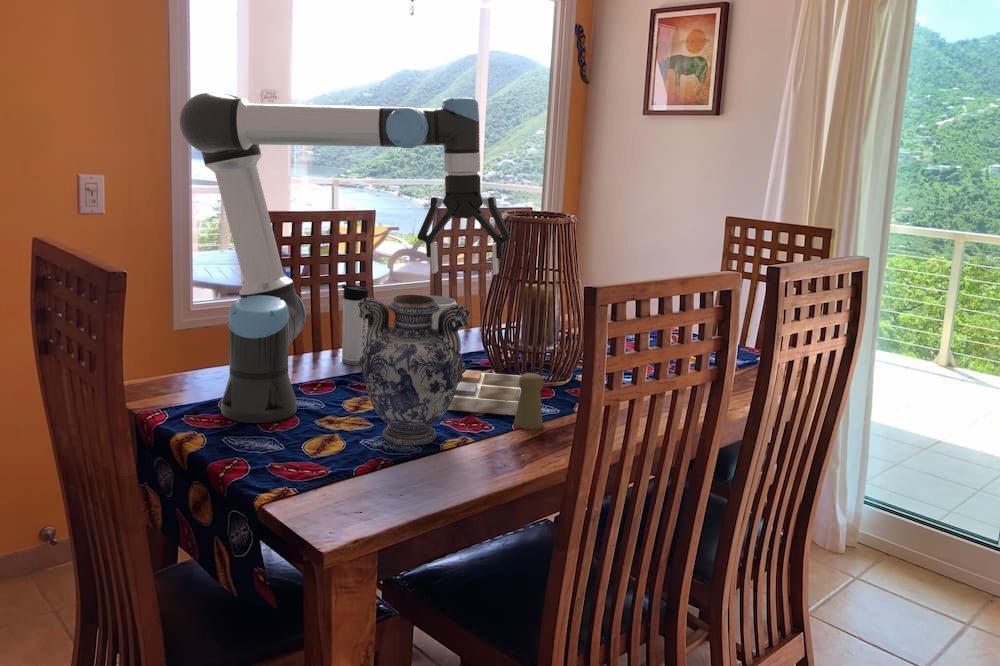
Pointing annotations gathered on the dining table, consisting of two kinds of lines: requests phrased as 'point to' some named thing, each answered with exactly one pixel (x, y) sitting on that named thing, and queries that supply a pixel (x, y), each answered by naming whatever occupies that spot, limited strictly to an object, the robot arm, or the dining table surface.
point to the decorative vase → (411, 364)
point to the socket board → (487, 393)
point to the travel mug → (353, 324)
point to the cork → (529, 402)
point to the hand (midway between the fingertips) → (465, 273)
